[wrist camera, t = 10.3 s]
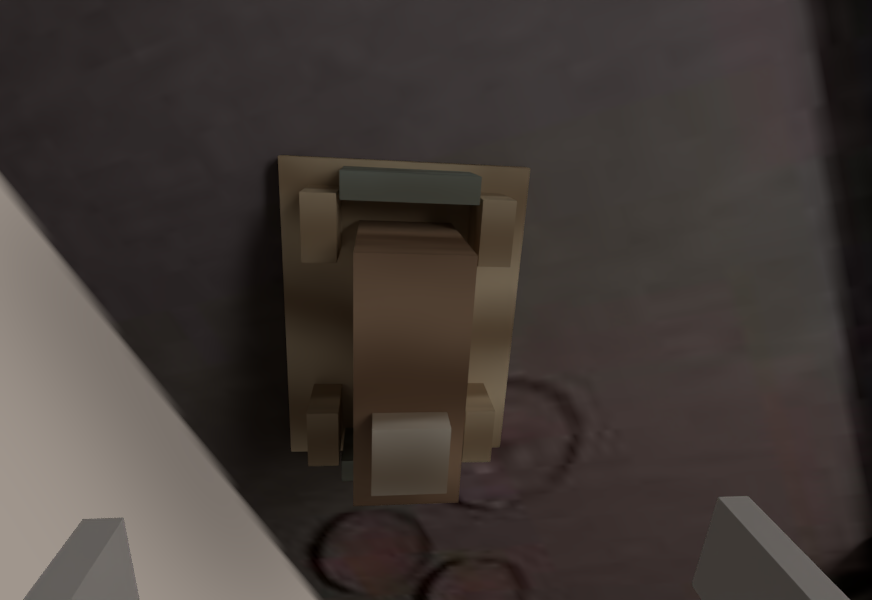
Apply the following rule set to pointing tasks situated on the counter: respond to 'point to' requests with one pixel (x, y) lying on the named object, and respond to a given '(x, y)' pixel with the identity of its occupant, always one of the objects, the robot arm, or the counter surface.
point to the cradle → (333, 283)
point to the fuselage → (410, 360)
